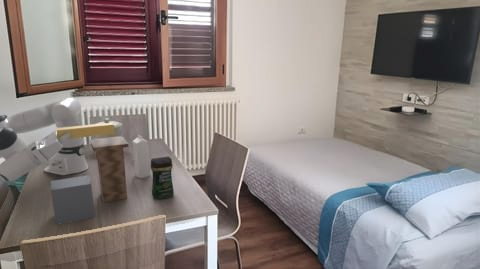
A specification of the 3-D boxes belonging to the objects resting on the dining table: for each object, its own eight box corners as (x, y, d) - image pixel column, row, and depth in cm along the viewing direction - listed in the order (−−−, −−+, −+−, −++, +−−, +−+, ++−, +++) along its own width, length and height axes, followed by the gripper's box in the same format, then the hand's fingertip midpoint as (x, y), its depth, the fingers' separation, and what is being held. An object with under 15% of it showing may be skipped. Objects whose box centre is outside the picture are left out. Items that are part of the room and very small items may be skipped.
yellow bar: (57, 140, 140) (56, 130, 139) (57, 137, 144) (56, 128, 143) (114, 133, 150) (113, 124, 149) (113, 131, 154) (112, 122, 153)
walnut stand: (99, 205, 150) (93, 147, 143) (95, 193, 162) (90, 139, 155) (132, 198, 157) (128, 143, 150) (126, 187, 168) (122, 135, 162)
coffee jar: (155, 201, 154) (152, 162, 149) (150, 194, 161) (148, 156, 156) (176, 197, 159) (174, 158, 154) (170, 190, 165) (168, 153, 160)
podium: (56, 224, 134) (50, 190, 130) (55, 213, 142) (50, 181, 139) (94, 216, 140) (91, 183, 136) (92, 206, 149) (88, 175, 145)
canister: (99, 146, 234) (95, 115, 229) (126, 145, 236) (124, 115, 231) (90, 154, 217) (87, 121, 211) (120, 153, 219) (117, 121, 213)
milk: (139, 178, 180) (136, 137, 174) (135, 175, 184) (131, 135, 178) (150, 175, 183) (147, 135, 177) (146, 172, 188) (143, 133, 182)
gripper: (44, 150, 150) (73, 131, 154) (44, 165, 133) (76, 143, 136) (34, 139, 147) (63, 120, 151) (32, 152, 130) (65, 131, 134)
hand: (69, 131), depth 144 cm, fingers closed on yellow bar, 4 cm apart
